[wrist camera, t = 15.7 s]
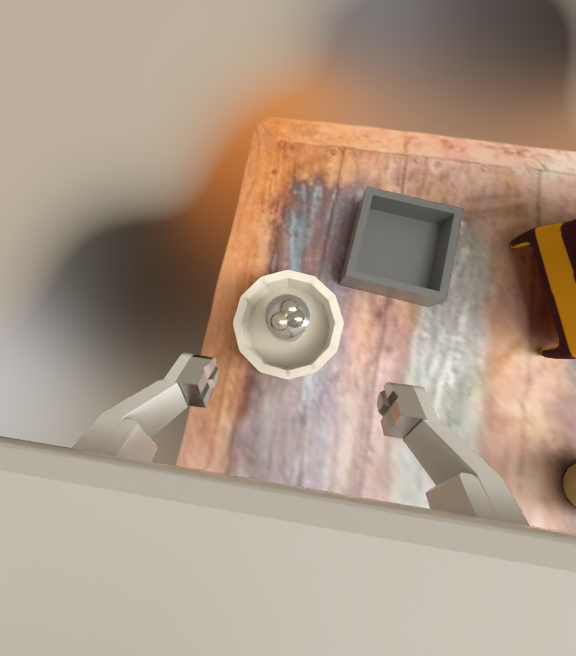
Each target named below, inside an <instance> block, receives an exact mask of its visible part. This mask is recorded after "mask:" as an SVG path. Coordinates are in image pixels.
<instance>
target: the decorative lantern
mask: <svg viewBox="0 0 576 656" xmlns="http://www.w3.org/2000/svg"><path fill="white" fill-rule="evenodd" d="M529 244H530V245H531V246H532V248H533V251H534V254H535V258H536V261H537V265H538V268H539V272H540V275H541V279H542V282H543V285H544V289H545V292H546V296H547V299H548V303H549V306H550V309H551V313H552V316H553V320H554V323H555V327H556V330H557V334H558V337H559V346H555V347H546V348H543V349H541V350H540V353H541V355H542V356H544V357H547V358H555V359H576V219H575V220H573V221H570V222H562V223H556V224H550V225H545V226H540V227H537V228H534V229H531V230H529V231H527V232H525V233H523V234H521V235H519V236H518V237H516V238H515V239H513V241H512V242H511V244H510V246H511V247H512V248H520V247H523V246H526V245H529Z"/></svg>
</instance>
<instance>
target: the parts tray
mask: <svg viewBox="0 0 576 656" xmlns="http://www.w3.org/2000/svg"><path fill="white" fill-rule="evenodd" d="M462 212H463V208H458V207H454V206H450V205H445V204H441V203H437V202H432V201H428V200H423V199H419V198H415V197H410V196H406V195H402V194H397V193H393V192H389V191H384V190H380V189H376V188H371V187H367V188H366V190H365V193H364V195H363V197H362V199H361V201H360V204H359V207H358V211H357V215H356V219H355V223H354V227H353V231H352V235H351V239H350V243H349V247H348V251H347V255H346V259H345V263H344V267H343V271H342V275H341V279H340V283H339V285H343V286H347V287H351V288H355V289H359V290H363V291H367V292H371V293H375V294H379V295H383V296H387V297H391V298H395V299H399V300H403V301H406V302H410V303H414V304H418V305H422V306H426V307H429V306H432V305H435V304H438V303H441V302H444V301H446V298H447V293H448V288H449V282H450V277H451V272H452V266H453V261H454V255H455V250H456V245H457V239H458V234H459V228H460V223H461V218H462Z"/></svg>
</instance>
